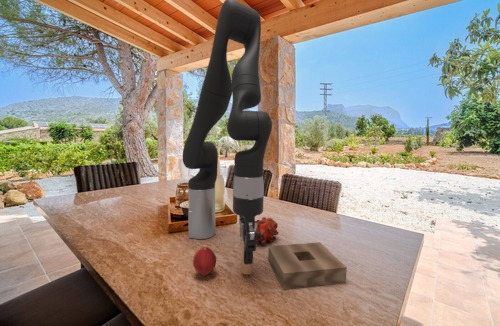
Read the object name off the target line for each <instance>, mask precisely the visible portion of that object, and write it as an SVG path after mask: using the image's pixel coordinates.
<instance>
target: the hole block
mask: <svg viewBox="0 0 500 326" xmlns="http://www.w3.org/2000/svg"><path fill="white" fill-rule="evenodd" d="M267 247H268V251H267V255H268V256H267V257H268V258H267V261H268V262H269V264H270V265H271V266H270V267H271V268H272V270H273V271H274V274H275V277H276V278H277V279H278V282H279V284H280V286H281V288H282V290H290V289H293V290H294V289H298V288H300V289H301V288H309V287H317V286H318V287H319V286H328V285H329V286H330V285H339V284H346V282H347V271H348V269H347V268H348V267H347V266H346V265H345V264H344V263H343V262H342V261H341V260H340V259H339V258H338V257H336V255H334V254H333V253H332V252H331V251H330V250H329V249H328V248H327V247H326V246H325V245H324V244H323V243H321V242H320V241H319V242H306V243H305V242H304V243H295V244H292V243H290V244H282V245H281V244H280V245H279V244H278V245H268V246H267Z"/></svg>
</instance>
